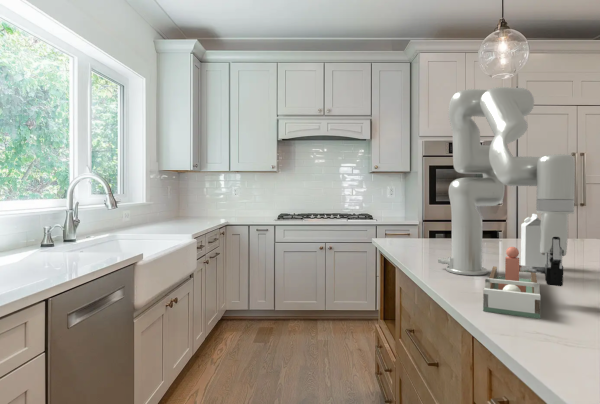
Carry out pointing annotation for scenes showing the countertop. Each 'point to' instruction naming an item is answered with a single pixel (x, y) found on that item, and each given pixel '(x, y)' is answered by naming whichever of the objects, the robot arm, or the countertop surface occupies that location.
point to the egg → (511, 288)
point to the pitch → (510, 312)
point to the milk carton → (531, 243)
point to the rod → (518, 268)
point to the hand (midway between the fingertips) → (553, 282)
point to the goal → (511, 296)
